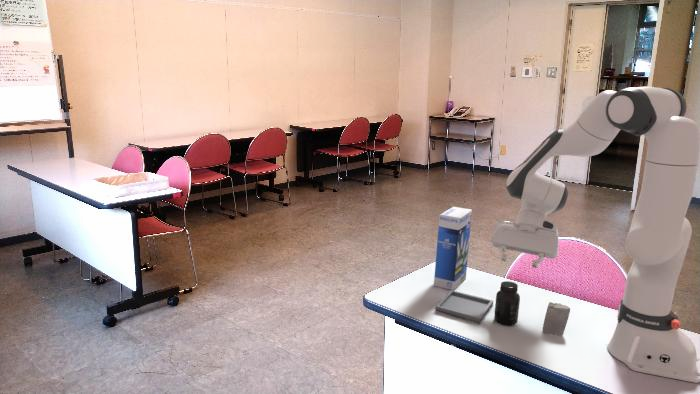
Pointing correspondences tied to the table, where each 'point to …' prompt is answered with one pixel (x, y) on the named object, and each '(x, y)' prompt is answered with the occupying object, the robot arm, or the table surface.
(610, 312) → the table surface
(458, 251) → the string lights box
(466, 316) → the tray
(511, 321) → the supplement bottle
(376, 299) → the table surface
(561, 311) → the mineral specimen
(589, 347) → the table surface
